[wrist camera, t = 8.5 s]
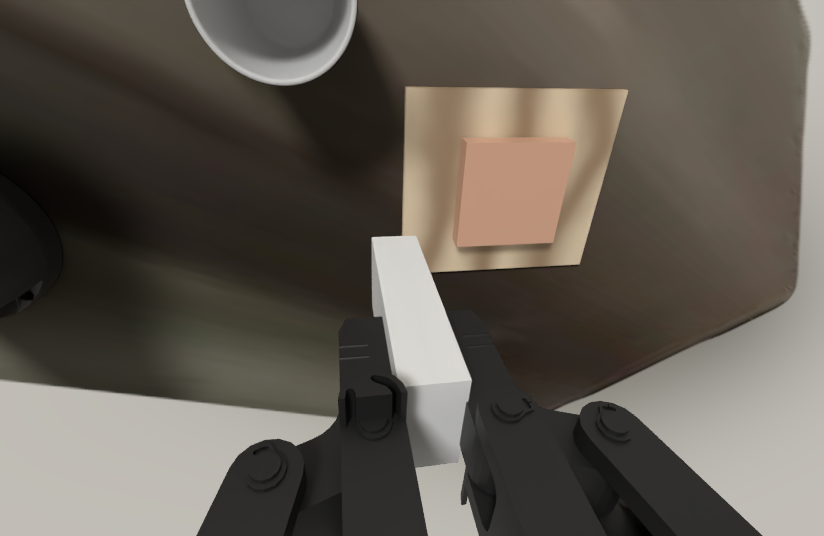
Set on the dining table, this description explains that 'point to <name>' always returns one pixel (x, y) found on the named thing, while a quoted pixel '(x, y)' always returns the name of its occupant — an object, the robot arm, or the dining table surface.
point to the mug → (276, 35)
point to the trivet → (501, 117)
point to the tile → (510, 189)
